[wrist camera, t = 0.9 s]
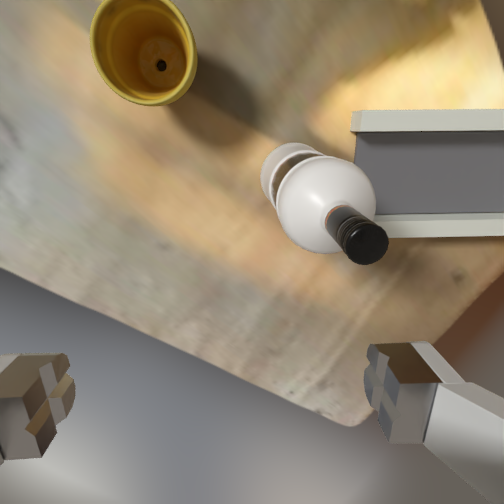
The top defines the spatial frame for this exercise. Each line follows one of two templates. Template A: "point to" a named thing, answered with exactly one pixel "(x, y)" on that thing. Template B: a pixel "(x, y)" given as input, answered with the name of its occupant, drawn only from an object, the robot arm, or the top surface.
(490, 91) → the top surface
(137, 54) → the plant pot
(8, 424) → the robot arm
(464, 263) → the top surface
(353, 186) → the vodka
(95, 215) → the top surface
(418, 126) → the cradle
